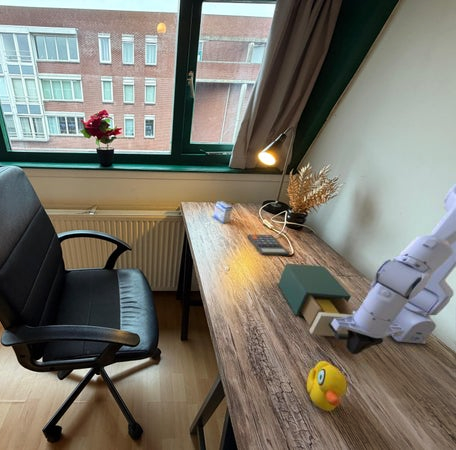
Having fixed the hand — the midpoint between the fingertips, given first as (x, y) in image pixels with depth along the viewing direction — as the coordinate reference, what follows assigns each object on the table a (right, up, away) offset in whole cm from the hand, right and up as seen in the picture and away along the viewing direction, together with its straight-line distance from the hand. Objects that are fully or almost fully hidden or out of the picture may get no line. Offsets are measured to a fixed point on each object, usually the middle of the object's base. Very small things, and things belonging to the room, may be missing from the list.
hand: (351, 350), depth 60 cm
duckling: (-13, -7, -7) cm, 16 cm away
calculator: (+1, +22, +49) cm, 53 cm away
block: (+1, +4, +11) cm, 12 cm away
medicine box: (-13, +34, +69) cm, 78 cm away
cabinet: (+1, +6, +20) cm, 21 cm away
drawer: (0, +2, +10) cm, 10 cm away
